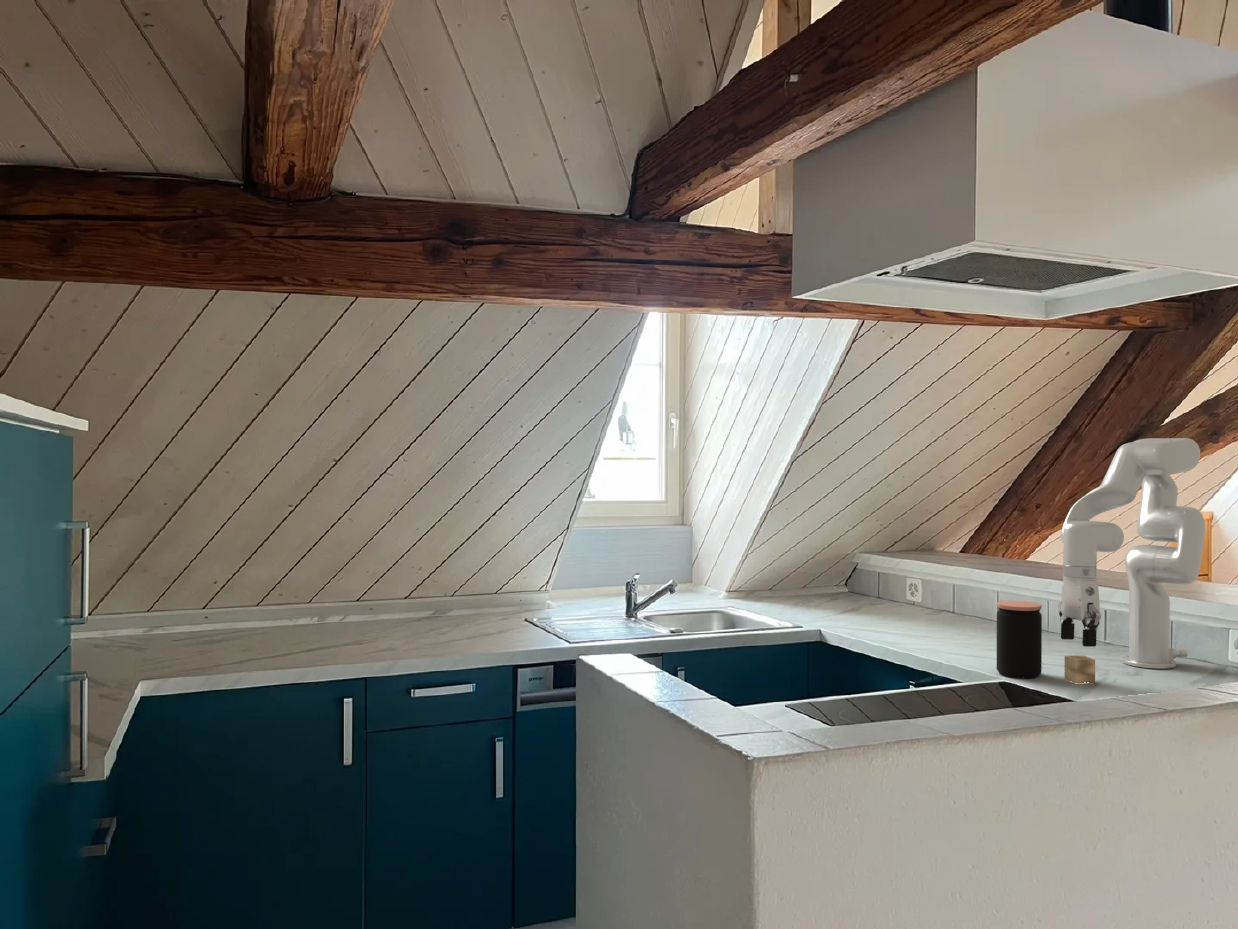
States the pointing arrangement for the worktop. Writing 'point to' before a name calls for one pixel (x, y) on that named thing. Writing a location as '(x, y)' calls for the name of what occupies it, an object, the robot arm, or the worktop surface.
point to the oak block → (1080, 669)
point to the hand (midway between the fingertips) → (1078, 642)
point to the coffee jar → (1019, 639)
